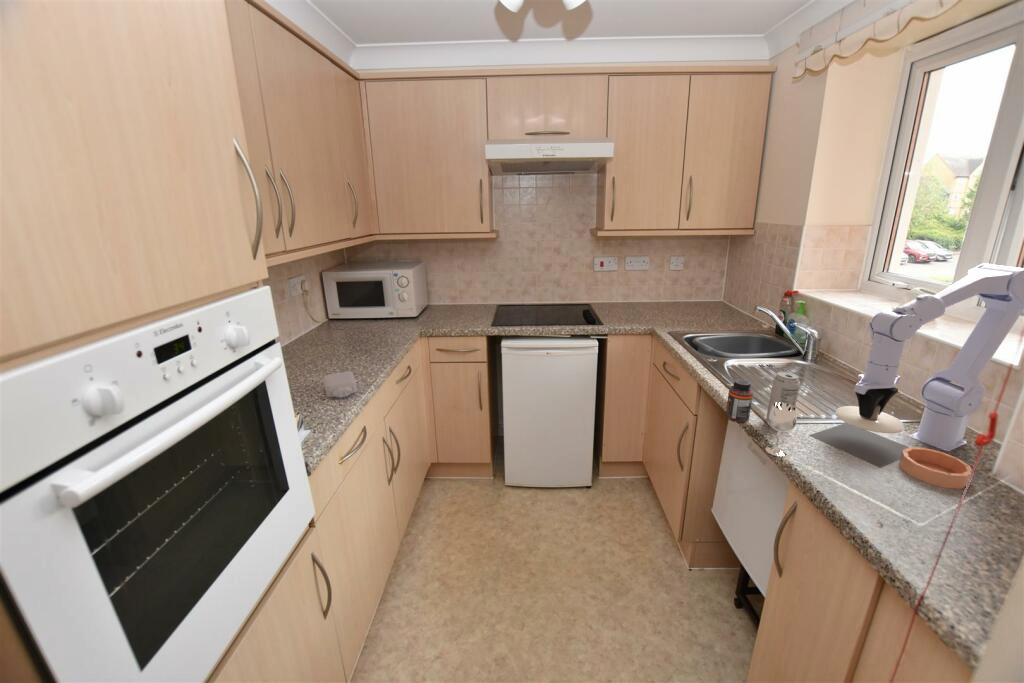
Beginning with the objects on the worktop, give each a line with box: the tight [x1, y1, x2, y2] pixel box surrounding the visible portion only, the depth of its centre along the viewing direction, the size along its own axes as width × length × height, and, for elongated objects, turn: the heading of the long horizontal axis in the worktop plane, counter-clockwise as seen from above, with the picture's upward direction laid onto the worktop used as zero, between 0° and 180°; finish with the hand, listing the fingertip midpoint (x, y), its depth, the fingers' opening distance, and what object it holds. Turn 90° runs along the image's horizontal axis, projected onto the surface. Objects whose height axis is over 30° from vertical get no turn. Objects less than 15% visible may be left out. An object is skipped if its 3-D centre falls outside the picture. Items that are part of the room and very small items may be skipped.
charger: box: [323, 370, 358, 398], centre depth 142 cm, size 5×9×15 cm
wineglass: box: [765, 402, 798, 457], centre depth 104 cm, size 6×6×12 cm
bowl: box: [898, 446, 973, 490], centre depth 96 cm, size 11×11×4 cm
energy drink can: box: [765, 371, 801, 427], centre depth 116 cm, size 6×6×15 cm
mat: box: [808, 422, 909, 469], centre depth 109 cm, size 16×16×1 cm
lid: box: [835, 404, 905, 434], centre depth 106 cm, size 13×13×4 cm
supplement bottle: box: [725, 378, 754, 423], centre depth 121 cm, size 6×6×11 cm
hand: (869, 415), depth 106 cm, fingers closed on lid, 3 cm apart
